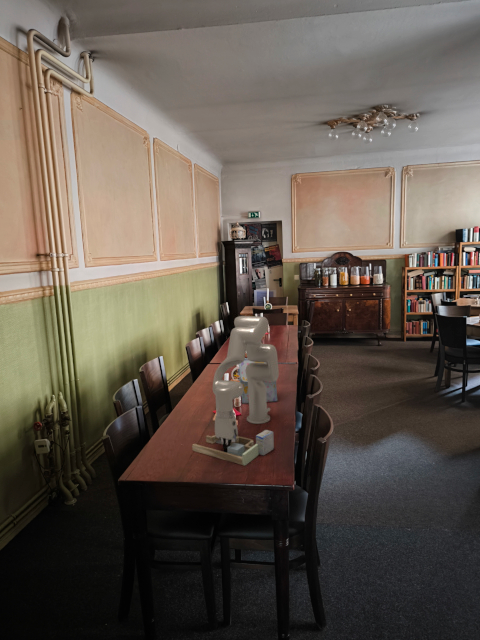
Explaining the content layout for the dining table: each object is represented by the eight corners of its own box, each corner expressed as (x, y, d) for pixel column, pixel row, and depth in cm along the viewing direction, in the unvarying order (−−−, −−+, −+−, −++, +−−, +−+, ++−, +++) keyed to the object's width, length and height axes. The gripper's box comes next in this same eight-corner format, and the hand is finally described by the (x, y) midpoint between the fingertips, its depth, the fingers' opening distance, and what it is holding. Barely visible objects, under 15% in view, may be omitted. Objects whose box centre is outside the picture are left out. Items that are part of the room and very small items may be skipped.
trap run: (215, 436, 215) (215, 430, 214) (263, 448, 199) (263, 442, 199) (192, 450, 200) (192, 444, 200) (242, 465, 185) (242, 458, 184)
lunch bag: (240, 406, 255) (238, 362, 250) (239, 396, 271) (237, 355, 267) (278, 403, 255) (276, 360, 251) (275, 394, 272) (273, 353, 268)
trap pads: (220, 438, 211) (220, 438, 211) (250, 446, 202) (250, 446, 202) (214, 442, 208) (214, 442, 208) (245, 450, 198) (245, 450, 198)
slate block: (234, 452, 196) (234, 442, 195) (244, 455, 193) (244, 445, 192) (227, 457, 192) (227, 447, 191) (237, 460, 189) (237, 450, 188)
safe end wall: (256, 454, 194) (256, 443, 193) (258, 454, 193) (258, 444, 193) (242, 465, 185) (242, 454, 184) (244, 465, 184) (244, 454, 183)
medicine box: (266, 446, 201) (265, 429, 200) (274, 449, 198) (273, 431, 197) (256, 453, 195) (255, 435, 194) (264, 456, 192) (263, 437, 191)
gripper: (243, 413, 191) (245, 452, 194) (216, 407, 200) (218, 444, 203) (233, 419, 185) (235, 459, 188) (206, 413, 194) (208, 451, 196)
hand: (226, 451), depth 195 cm, fingers closed
